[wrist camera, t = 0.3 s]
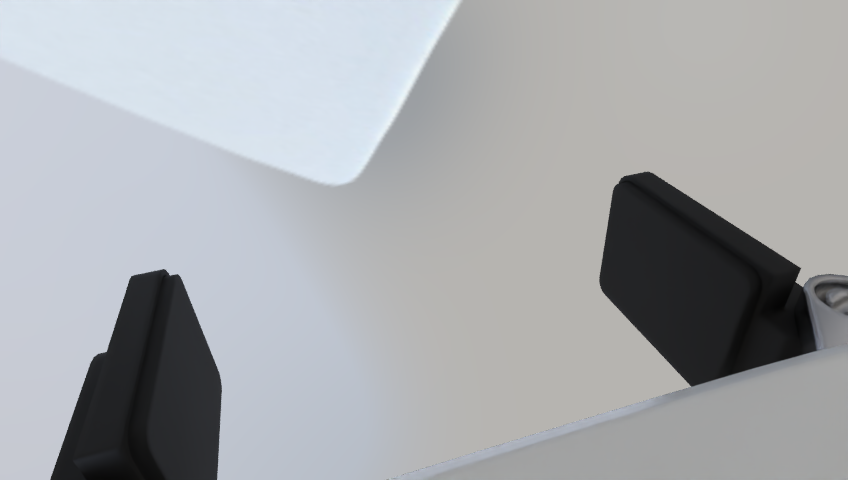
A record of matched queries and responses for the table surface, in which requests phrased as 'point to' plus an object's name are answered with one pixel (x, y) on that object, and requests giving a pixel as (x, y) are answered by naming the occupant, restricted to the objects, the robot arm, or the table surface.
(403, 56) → the table surface
